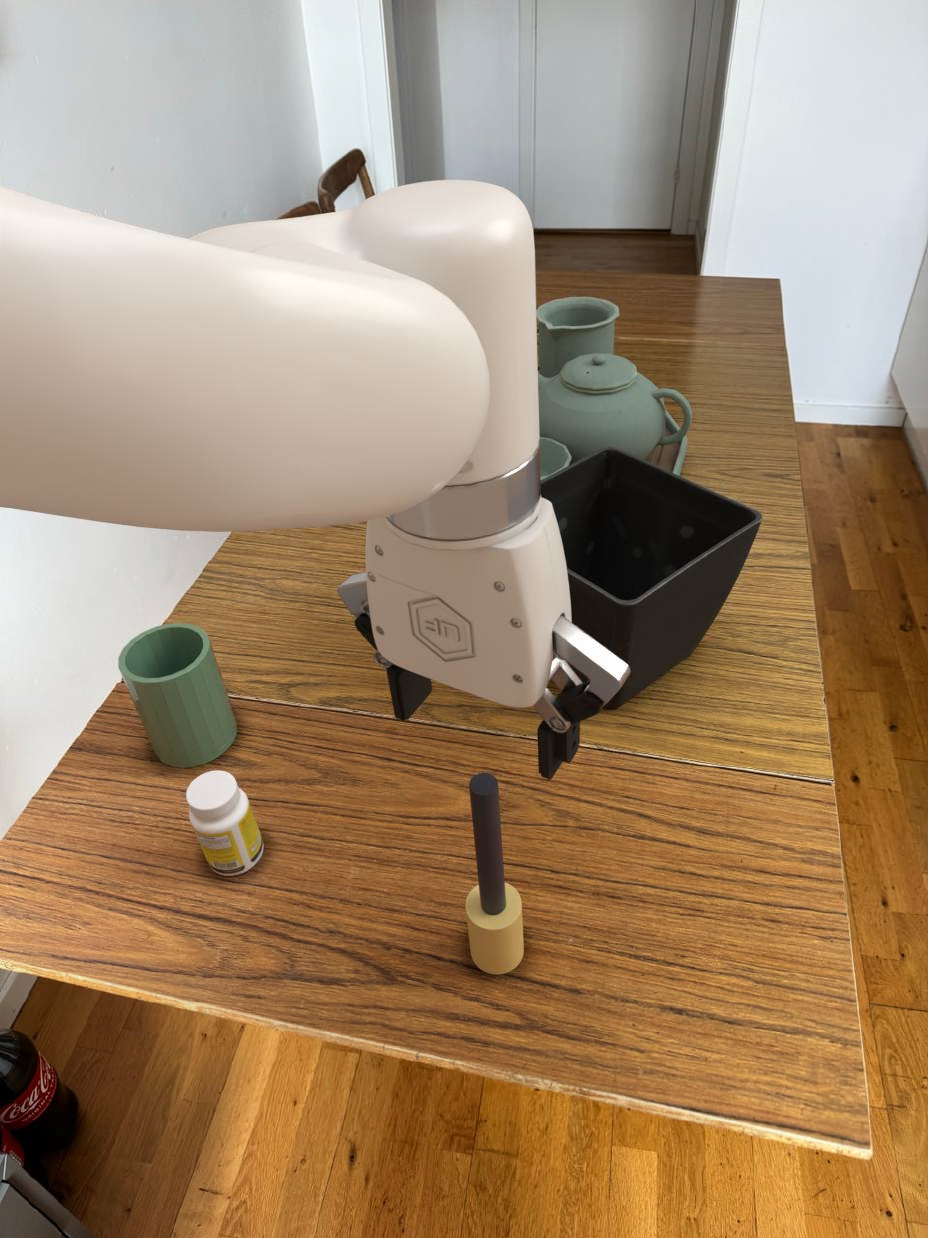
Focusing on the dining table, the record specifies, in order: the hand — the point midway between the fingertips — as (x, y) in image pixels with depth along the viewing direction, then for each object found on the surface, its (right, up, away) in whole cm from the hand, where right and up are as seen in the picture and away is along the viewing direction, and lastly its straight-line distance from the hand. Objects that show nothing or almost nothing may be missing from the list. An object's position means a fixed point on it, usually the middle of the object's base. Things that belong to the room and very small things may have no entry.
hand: (482, 731), depth 52 cm
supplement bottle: (-20, -13, +23) cm, 34 cm away
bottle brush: (+1, -18, +15) cm, 23 cm away
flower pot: (+14, +3, +40) cm, 42 cm away
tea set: (+9, +28, +70) cm, 76 cm away
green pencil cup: (-27, -5, +34) cm, 44 cm away
